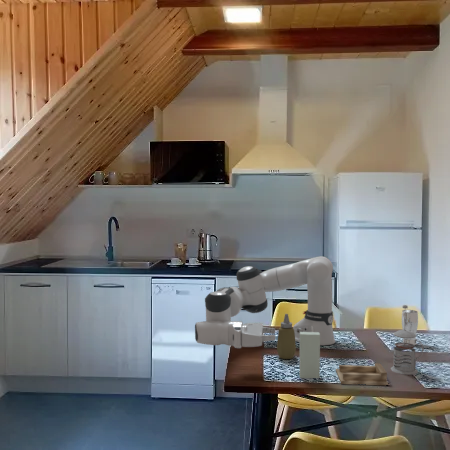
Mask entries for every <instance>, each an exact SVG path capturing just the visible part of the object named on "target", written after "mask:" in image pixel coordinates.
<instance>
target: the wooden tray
mask: <svg viewBox="0 0 450 450" xmlns="http://www.w3.org/2000/svg"><path fill="white" fill-rule="evenodd" d="M338 366H339V367H338V368H335V373H336V375H337V378H338V380H339V382H341V383H340V384H341V385H358V384H366V386H386V385H388V386H389V383H388V372H387V371H386V369H385V368H384V366H383V365H382V364H381V363H374V365H356V364H355V365H352V364H350V365H349V364H339V365H338Z"/></svg>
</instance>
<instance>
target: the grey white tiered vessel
mask: <svg viewBox="0 0 450 450" xmlns="http://www.w3.org/2000/svg"><path fill="white" fill-rule="evenodd" d="M408 308H409V307H408V305H407V304H403V305H402V309H408ZM393 336H394V337H396V338H400V339H403V338H404V343H402V342H403V341H399V342H395V343H394V347H393V366H392V367H390V370H391V372H393V373H396V374H399V375H400V374H401V375H409V376H410V375H416V374H418V373H419V371H418V369H417V368H416V366H417V365H416V364H417V361H416V360H419V359H420V358H422V356H423V354H424V350H425V349H424V345H423V343H422V342H421V340H419V339H418V338H417V334H416V335H415V334H414V333H412V332H410V331H407V330H405V327H404V330H403V329H398V330H397V331H395V332H393ZM415 337H416V340H415V343H419V344H420V346H421V349H422V350H421V355H419V356H417V357H416V349H415V346H416V345H415V346H414V345H413V344H409V343H405V338H415Z"/></svg>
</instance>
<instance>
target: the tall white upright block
mask: <svg viewBox="0 0 450 450" xmlns="http://www.w3.org/2000/svg"><path fill="white" fill-rule="evenodd" d="M320 367H321V345H320V334H319V332H300V342H299V373H298V375H299V378H300V379H313V378H321V377H320V373H321V372H320V370H321V369H320Z"/></svg>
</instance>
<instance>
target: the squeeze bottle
mask: <svg viewBox="0 0 450 450" xmlns="http://www.w3.org/2000/svg"><path fill="white" fill-rule="evenodd" d="M289 317H290V316H289V314H288V313H284V319H283V321H282V322H280V327H279V328H278V331H277V333H278V334H277V340H276V341H277V342H276V351H277V354H278V358H280V359H283V360H292V359H294V357H295V354H296V351H297V345H296V341H295V332H294V329H293V322H291V321H290V318H289Z"/></svg>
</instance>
